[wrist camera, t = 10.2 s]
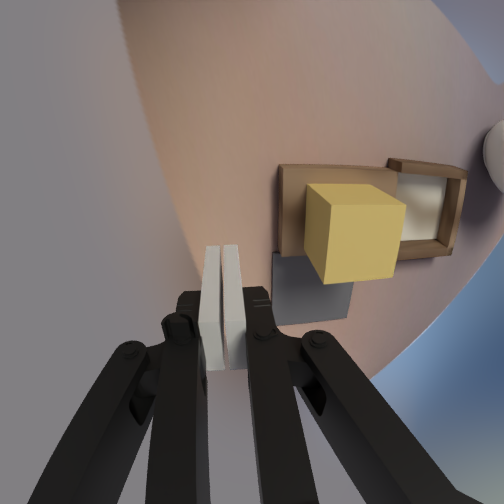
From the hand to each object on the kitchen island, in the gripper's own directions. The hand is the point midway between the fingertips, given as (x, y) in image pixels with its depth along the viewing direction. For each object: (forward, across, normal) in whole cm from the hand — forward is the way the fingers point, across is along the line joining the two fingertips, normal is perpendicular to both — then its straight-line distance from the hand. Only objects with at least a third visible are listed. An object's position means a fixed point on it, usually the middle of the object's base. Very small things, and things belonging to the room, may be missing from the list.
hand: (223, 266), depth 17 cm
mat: (+10, +9, -9) cm, 16 cm away
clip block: (+5, +10, 0) cm, 11 cm away
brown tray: (+10, +16, 0) cm, 19 cm away
